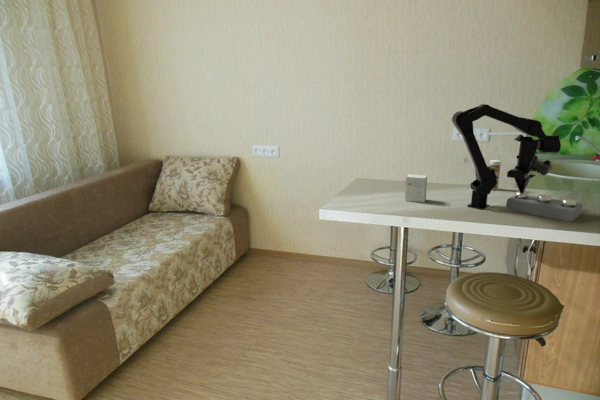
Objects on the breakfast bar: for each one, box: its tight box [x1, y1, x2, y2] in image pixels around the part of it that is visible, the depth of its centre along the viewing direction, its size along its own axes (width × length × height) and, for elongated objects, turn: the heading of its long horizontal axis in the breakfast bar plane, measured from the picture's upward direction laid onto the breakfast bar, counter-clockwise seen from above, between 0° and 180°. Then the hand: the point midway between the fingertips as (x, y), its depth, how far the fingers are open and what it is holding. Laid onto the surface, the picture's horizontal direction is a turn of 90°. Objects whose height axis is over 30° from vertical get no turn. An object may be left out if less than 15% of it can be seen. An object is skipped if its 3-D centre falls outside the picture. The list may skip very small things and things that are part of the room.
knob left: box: [514, 190, 529, 200], centre depth 159 cm, size 4×4×5 cm
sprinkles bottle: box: [489, 159, 502, 191], centre depth 187 cm, size 5×5×13 cm
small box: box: [404, 173, 428, 203], centre depth 171 cm, size 8×6×10 cm
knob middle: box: [537, 194, 552, 203], centre depth 153 cm, size 4×4×5 cm
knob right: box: [561, 198, 577, 208], centre depth 147 cm, size 4×4×5 cm
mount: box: [505, 194, 583, 222], centre depth 154 cm, size 12×22×4 cm, turn 43°
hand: (521, 192), depth 158 cm, fingers closed, pressing on knob left
